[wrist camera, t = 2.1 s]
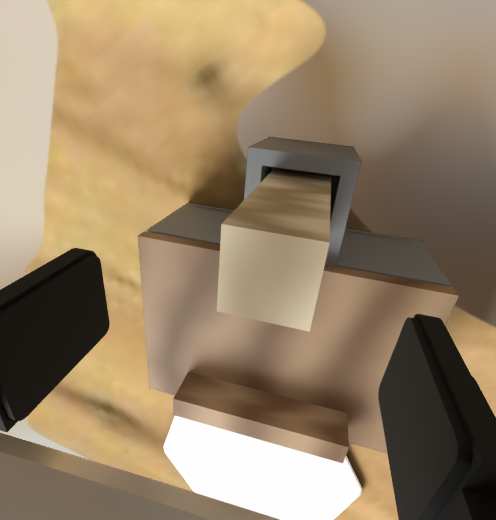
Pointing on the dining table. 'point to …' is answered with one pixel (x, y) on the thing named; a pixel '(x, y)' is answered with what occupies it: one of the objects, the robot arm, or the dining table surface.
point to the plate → (260, 473)
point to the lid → (276, 350)
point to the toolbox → (342, 189)
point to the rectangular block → (276, 249)
